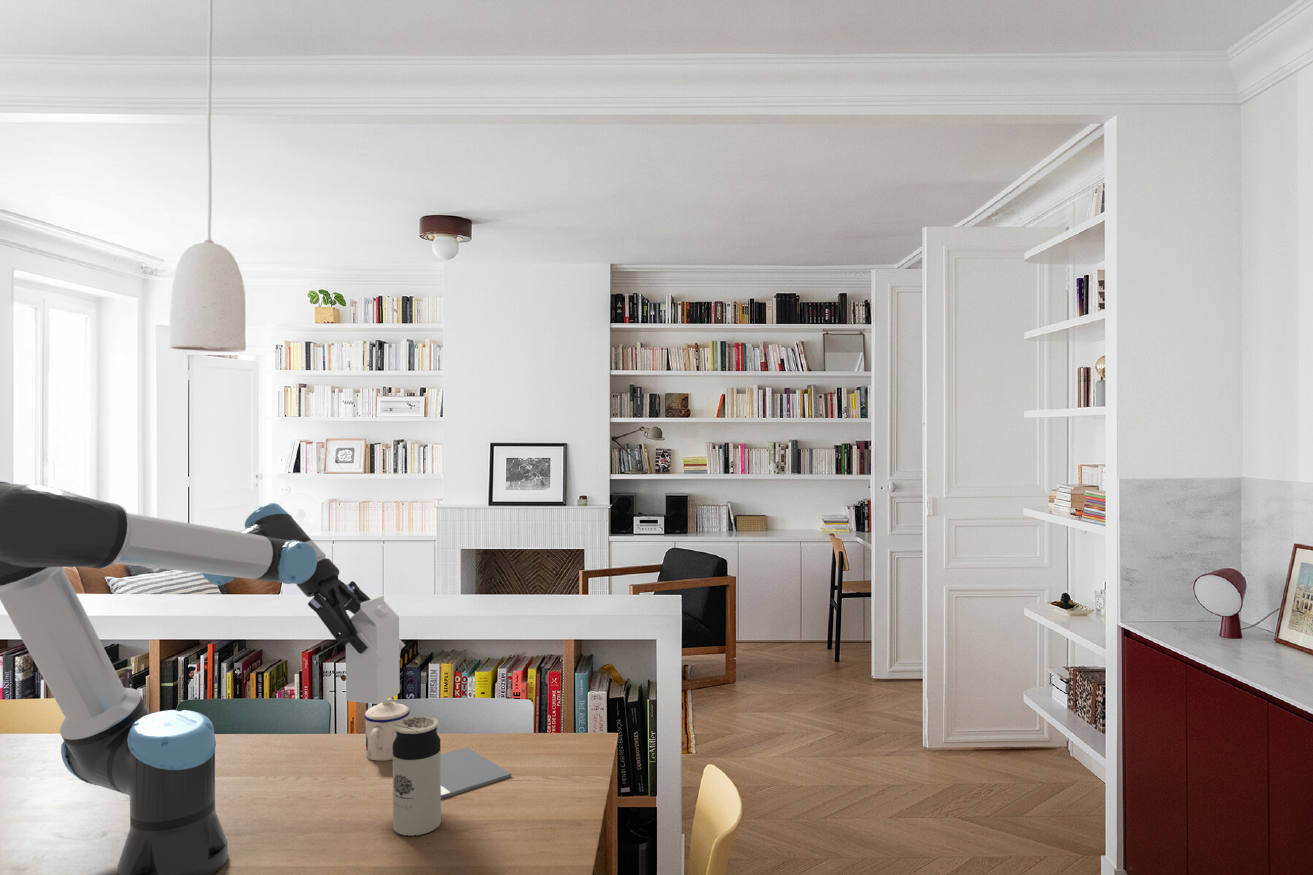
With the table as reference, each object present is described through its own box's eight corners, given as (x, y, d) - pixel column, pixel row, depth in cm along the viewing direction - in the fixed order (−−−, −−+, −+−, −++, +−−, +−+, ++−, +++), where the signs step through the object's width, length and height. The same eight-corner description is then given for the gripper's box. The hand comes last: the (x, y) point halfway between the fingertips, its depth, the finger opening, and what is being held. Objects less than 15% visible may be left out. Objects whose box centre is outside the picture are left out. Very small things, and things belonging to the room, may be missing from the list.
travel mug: (422, 811, 153) (422, 712, 153) (450, 824, 148) (449, 722, 148) (383, 827, 147) (383, 724, 146) (411, 842, 142) (410, 735, 141)
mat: (511, 776, 168) (511, 772, 168) (436, 800, 157) (436, 796, 157) (467, 749, 181) (467, 746, 181) (395, 769, 171) (395, 766, 171)
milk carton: (345, 701, 161) (344, 602, 161) (369, 689, 168) (367, 594, 167) (378, 705, 159) (376, 604, 158) (400, 693, 166) (399, 596, 165)
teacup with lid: (376, 744, 184) (375, 690, 184) (416, 745, 183) (416, 692, 183) (350, 766, 172) (350, 709, 172) (393, 768, 171) (393, 711, 171)
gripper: (328, 573, 176) (401, 654, 173) (265, 594, 155) (348, 686, 153) (351, 548, 175) (426, 629, 172) (291, 566, 154) (375, 658, 152)
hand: (389, 656), depth 163 cm, fingers closed on milk carton, 8 cm apart
